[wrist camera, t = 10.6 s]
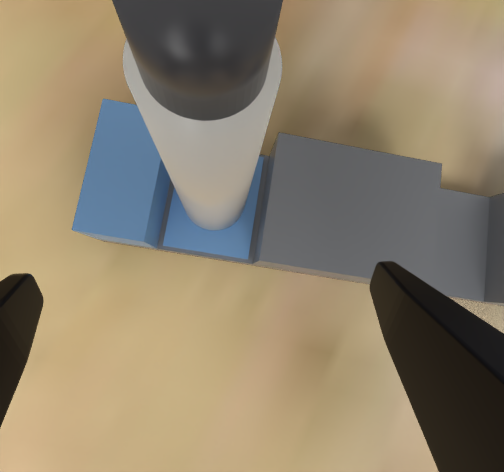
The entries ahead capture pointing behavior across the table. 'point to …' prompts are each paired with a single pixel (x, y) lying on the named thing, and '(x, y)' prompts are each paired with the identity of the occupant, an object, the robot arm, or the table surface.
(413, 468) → the table surface
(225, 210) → the dark-capped white cylinder
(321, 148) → the gray notched block
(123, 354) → the table surface
